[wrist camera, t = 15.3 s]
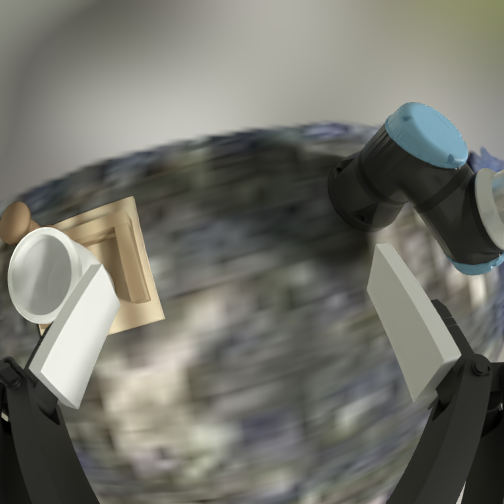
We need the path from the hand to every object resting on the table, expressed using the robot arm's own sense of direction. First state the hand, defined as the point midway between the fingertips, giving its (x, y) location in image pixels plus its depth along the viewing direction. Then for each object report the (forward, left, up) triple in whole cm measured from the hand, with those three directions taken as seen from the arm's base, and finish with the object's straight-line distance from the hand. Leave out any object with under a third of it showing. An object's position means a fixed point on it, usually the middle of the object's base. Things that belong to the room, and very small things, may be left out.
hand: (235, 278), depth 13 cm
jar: (+18, -8, -28) cm, 34 cm away
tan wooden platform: (+19, -11, -29) cm, 36 cm away
